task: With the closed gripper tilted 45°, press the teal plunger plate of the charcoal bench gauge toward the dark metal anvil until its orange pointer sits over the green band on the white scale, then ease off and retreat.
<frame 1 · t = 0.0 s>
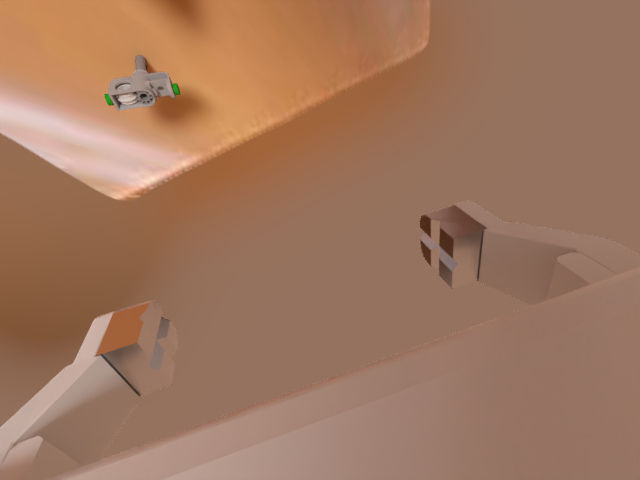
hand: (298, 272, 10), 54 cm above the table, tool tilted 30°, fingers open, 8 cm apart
mechanical component: (140, 59, 53), on the table
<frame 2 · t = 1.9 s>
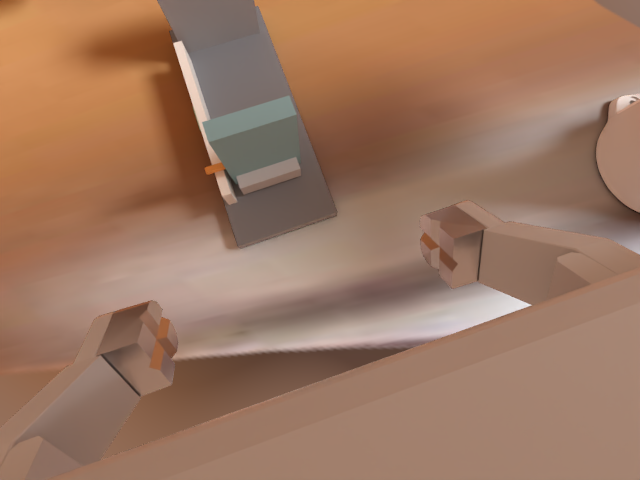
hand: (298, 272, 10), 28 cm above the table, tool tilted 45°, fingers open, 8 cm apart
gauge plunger: (248, 149, 33), point 7 cm above the table, slide at 0.0 cm
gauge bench: (251, 123, 41), on the table
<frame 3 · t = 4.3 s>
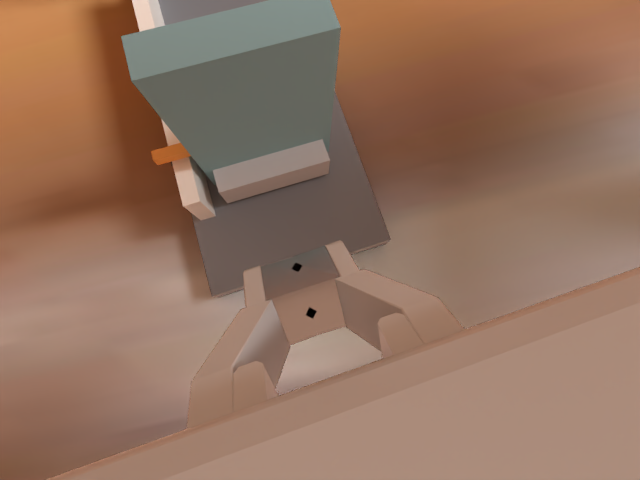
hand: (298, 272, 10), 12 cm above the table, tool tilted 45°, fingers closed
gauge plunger: (235, 116, 17), point 7 cm above the table, slide at 0.0 cm
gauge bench: (246, 86, 25), on the table
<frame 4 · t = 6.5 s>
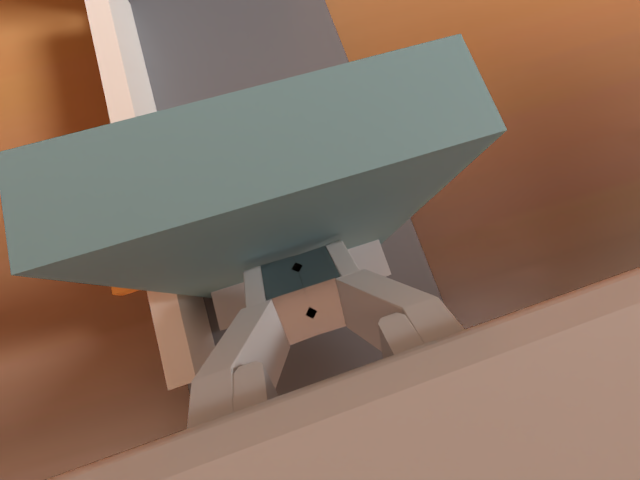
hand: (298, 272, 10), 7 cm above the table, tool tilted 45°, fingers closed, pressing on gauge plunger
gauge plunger: (249, 232, 10), point 7 cm above the table, slide at 0.9 cm, touching gripper
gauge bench: (261, 153, 18), on the table
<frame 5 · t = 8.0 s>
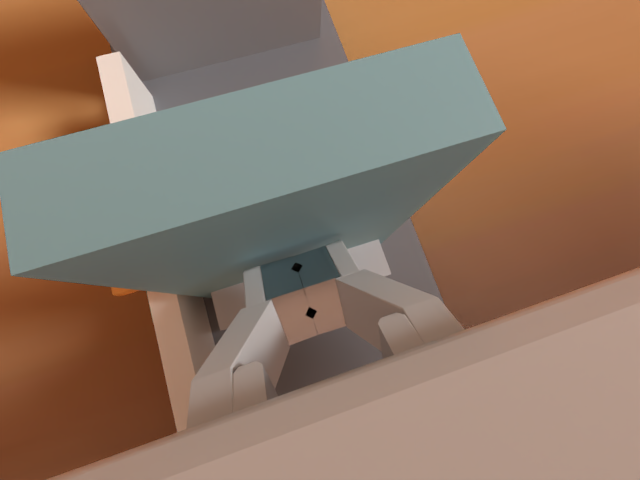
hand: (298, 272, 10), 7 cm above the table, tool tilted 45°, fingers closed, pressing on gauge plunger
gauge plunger: (249, 232, 10), point 7 cm above the table, slide at 6.9 cm, touching gripper
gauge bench: (293, 255, 17), on the table
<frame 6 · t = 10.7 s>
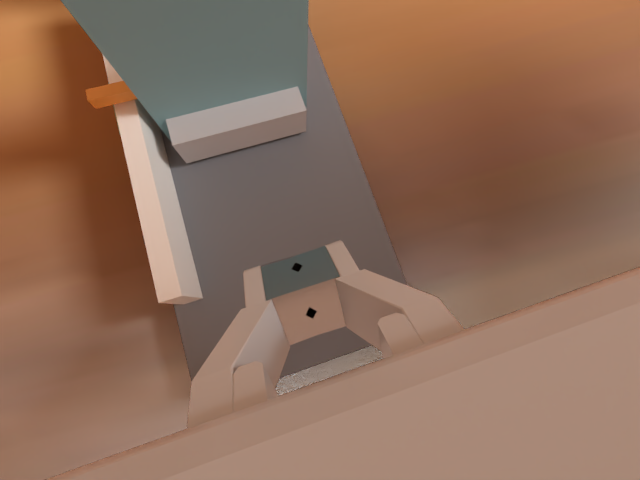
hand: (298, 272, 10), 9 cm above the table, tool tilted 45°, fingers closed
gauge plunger: (187, 45, 14), point 7 cm above the table, slide at 7.0 cm
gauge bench: (241, 126, 21), on the table
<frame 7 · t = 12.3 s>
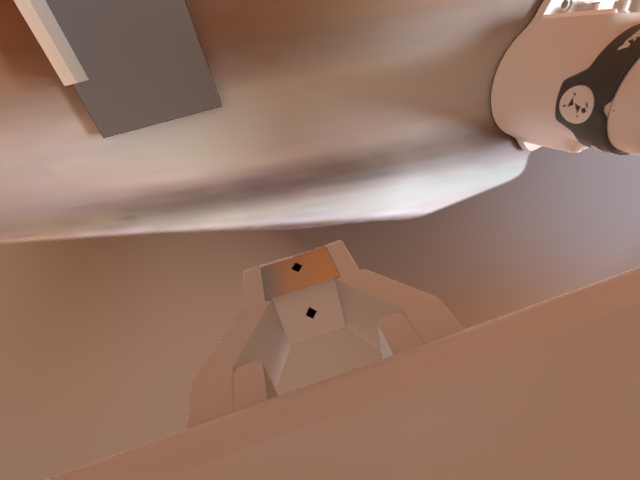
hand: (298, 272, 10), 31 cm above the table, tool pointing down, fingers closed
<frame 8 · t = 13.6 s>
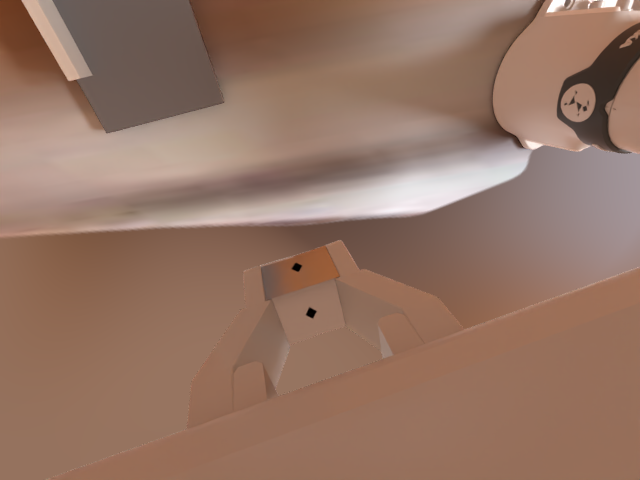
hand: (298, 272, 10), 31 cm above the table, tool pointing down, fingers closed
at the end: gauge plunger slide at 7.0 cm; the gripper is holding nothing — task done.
